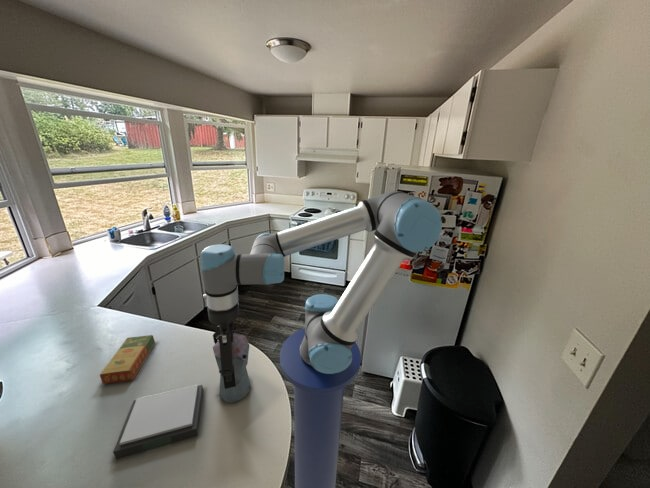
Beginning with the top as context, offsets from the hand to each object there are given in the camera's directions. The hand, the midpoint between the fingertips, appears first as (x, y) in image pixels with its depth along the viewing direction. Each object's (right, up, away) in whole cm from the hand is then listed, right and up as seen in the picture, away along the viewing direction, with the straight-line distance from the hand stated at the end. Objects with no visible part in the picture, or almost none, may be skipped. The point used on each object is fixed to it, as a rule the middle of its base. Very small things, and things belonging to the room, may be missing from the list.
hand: (230, 366), depth 72 cm
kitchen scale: (-15, -11, -6) cm, 20 cm away
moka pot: (0, -8, +3) cm, 9 cm away
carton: (-37, -4, +11) cm, 39 cm away
